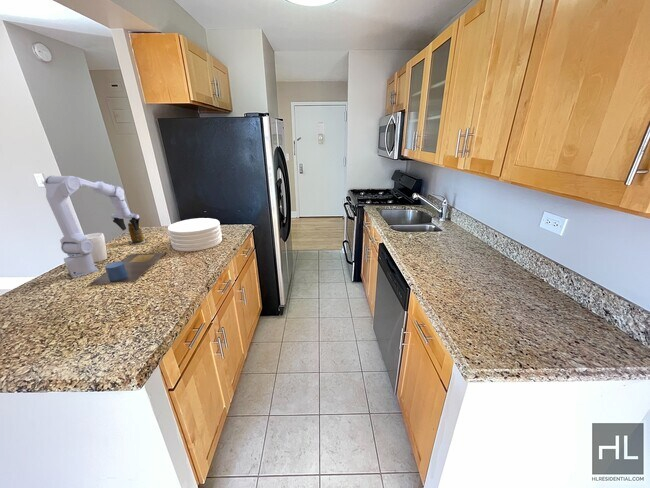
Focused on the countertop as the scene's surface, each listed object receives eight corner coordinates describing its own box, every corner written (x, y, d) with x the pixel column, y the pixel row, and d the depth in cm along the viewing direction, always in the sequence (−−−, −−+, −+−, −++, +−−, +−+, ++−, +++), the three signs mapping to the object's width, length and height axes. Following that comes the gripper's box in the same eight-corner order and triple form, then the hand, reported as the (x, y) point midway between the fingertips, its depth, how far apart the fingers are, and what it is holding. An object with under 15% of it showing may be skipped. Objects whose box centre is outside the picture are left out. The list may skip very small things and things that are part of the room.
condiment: (144, 238, 164) (139, 220, 160) (145, 242, 158) (140, 223, 154) (130, 241, 160) (124, 222, 156) (131, 245, 154) (125, 226, 150)
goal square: (147, 261, 133) (147, 261, 133) (128, 262, 132) (128, 262, 132) (155, 254, 141) (155, 254, 141) (138, 255, 140) (138, 255, 140)
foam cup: (108, 254, 142) (101, 231, 137) (113, 258, 136) (105, 235, 131) (86, 259, 135) (77, 236, 130) (90, 264, 129) (81, 240, 125)
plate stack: (231, 237, 168) (229, 219, 163) (201, 253, 143) (197, 234, 138) (195, 233, 175) (192, 216, 170) (160, 248, 150) (155, 229, 145)
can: (112, 282, 112) (107, 269, 110) (107, 278, 116) (102, 265, 114) (129, 276, 117) (125, 264, 115) (124, 272, 121) (120, 260, 119)
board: (134, 282, 114) (134, 281, 114) (89, 284, 111) (89, 284, 111) (166, 253, 143) (165, 252, 143) (130, 255, 141) (130, 254, 141)
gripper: (138, 204, 144) (147, 226, 151) (113, 204, 145) (123, 226, 152) (130, 209, 138) (139, 232, 145) (104, 209, 139) (114, 232, 146)
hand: (130, 229), depth 148 cm, fingers open, 7 cm apart
